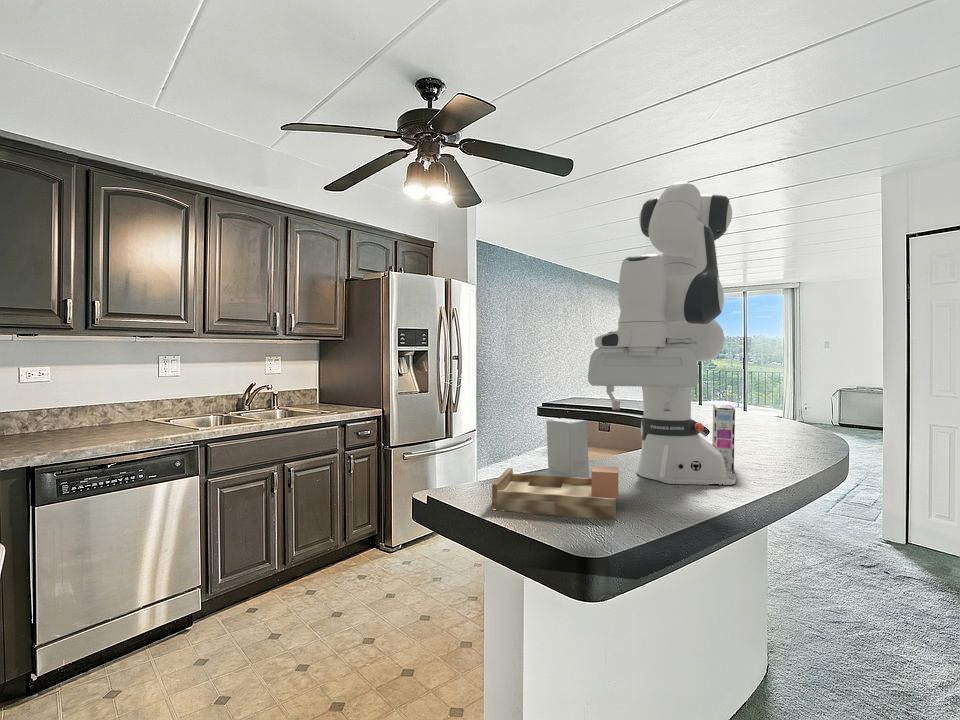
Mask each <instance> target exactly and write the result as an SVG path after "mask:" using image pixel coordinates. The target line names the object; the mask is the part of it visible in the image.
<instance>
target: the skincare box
mask: <svg viewBox="0 0 960 720" xmlns="http://www.w3.org/2000/svg"><path fill="white" fill-rule="evenodd" d="M545 422H546V423H545V424H546V442H547V444H546V445H547V448H546V449H547V470H548V472H547V473H548V475H547V476H562V477H578V478H590V470H589V469H590V467H589V466H590V465H589V449H588V447H589V446H588V445H589V443H588V425H587V424H588V423H587V422H588V421H587V420H584V419H572V418H564V417H560V418H555V419H554V418H553V419H548V420H546V421H545Z"/></svg>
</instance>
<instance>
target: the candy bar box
mask: <svg viewBox="0 0 960 720" xmlns="http://www.w3.org/2000/svg"><path fill="white" fill-rule="evenodd" d="M735 424H736V408H735V407H734V406H732V405H728V404H712V442H711V445H713V446H714V447H715V448H716V449H717V450H719V451H720V453H721V454H722V456H723V458H724V462H725V468H726V470H727V471H729V472H733V473H732V474H734V473H735V472H734V471H735V434H736V433H735V432H736V429H735V427H736V425H735Z"/></svg>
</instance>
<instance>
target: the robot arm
mask: <svg viewBox="0 0 960 720" xmlns="http://www.w3.org/2000/svg"><path fill="white" fill-rule="evenodd" d="M732 218H733V208H732V205H731V203H730V199H729V197H728V196H726V195H722V194H718V193H713V194H702V193H701V192H700V190H699V189H698V187H697V186H695V185H694V184H692V183H691V182H686V181H685V182H684V181H679V182H674V183H672V184H671V185H668V186H667V187H666V188H665V190H664V191H662V193H661V194H660V196H656V197H652V198H650V199H649V198H648V200H647V201H645V202H644V203H643V204H642V208H641V210H640V213H639V218H638V219H639V220H638V221H639V225H640V226H639V227H640V229H641V232H642V234H643V235H644V236H645V237H647V238H649V240H650V243H651V244H652V246H653V247H654V248H655V249H656V250H658V252H660V253H662V255H660V254H658V253H657V254H656V253H652V254H642V255H633V256H632V255H631V256H628V257H625V258H624V259H623V260H622V262H621V266H620V271H619V279H618V281H619V282H618V295H617V297H618V299H617V300H618V305H619V309H620V312H619V313H620V314H619V317H618V323H617V330H615V331H613V330H612V331H609V332H607V333H604V334H601V335H599V336H598V335H597V336H596V337H595V339H594V346H595V347H596V349H595V350H593V352H592V353H591V356H590V357H589V358H590V359H589V365H588V372H587V373H588V374H587V382H588V383H589V384H590V385H591V386H592V387H593V386H597V387H598V386H599V387H603V386H604V387H606V394H607V396H608V397H609V398H610V400H611V407H612V408H611V409H612V410H613V411H614V410H615V411H616V410H617V411H620V410H621V400H620V399H616V398H615V396H614V394H613V392H614V391H615V387H641V390H642V391H641V392H642V402H643V403H642V404H643V407H642V408H643V416H642V417H641V422H640V437H641V440H642V443H641V451H640V458H639V462H638V466H637V469H636V474H637V475H638V476H640V477H643V478H646V479H649V480H655V481H659V482H661V483H664V484H669V485H709V484H719V485H720V486H726V485H727V486H728V485H729V486H730V485H731V486H733V485H735V484H736V483H737V478H736V475H735V474H734V473H731V472H729V471H727V470H726V468H725V462H724V458H723V456H722V454H721V453H720V451H719V450H717V449H716V448H715V447H714V446H713V445H712V443H710V442H709V441H708V440H706V439H705V438H704V437H702V436H701V435H700V432H703V430H705V426H704V424H703V423H701V422H698V421H696V420H694V419H692V418H691V417H692V414H691V413H692V408H691V407H692V392H691V391H692V390H691V388H695V387H697V386H698V385H699V382H700V381H699V380H700V379H699V378H700V377H699V367H698V363H700V362H705V361H710V360H714V359H716V358H717V357H718V356H719V355H720V353H721V352H722V350H723V348H724V345H725V333H724V330H723V328H722V327H721V325H720V323H719V322H718V321H717V320H716V318H717V317H718V316H720V315H721V313H722V311H723V308H724V303H725V297H724V296H725V294H724V288H723V286H722V283H721V281H720V279H719V278H720V276H719V267H718V258H717V257H718V256H717V248H716V244H715V241H716V240H718V239H720V238H721V237H722V236H723V235H724V234H725V233H726V232H727V230H728V228H729V226H730V224H731V222H732ZM722 484H723V485H722ZM732 484H733V485H732ZM719 485H718V486H719Z"/></svg>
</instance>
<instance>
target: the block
mask: <svg viewBox="0 0 960 720" xmlns="http://www.w3.org/2000/svg"><path fill="white" fill-rule="evenodd" d="M591 478H592V497H602V498H616V500H619V467H618V466H617V467H616V466H615V467H614V466H603V465H602V466H600V465H592V468H591Z"/></svg>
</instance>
